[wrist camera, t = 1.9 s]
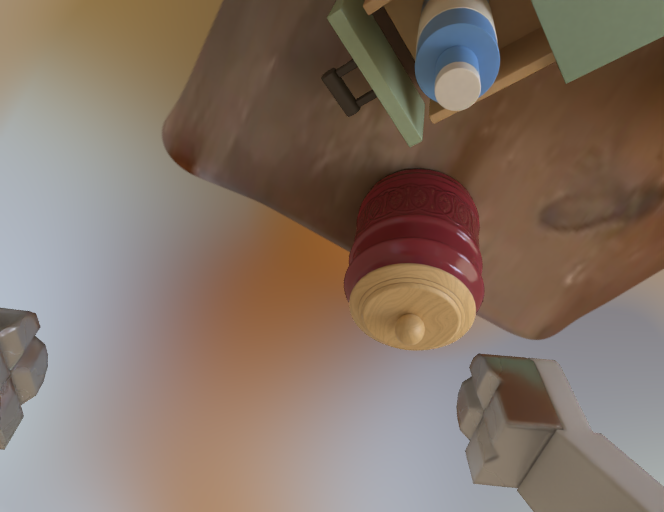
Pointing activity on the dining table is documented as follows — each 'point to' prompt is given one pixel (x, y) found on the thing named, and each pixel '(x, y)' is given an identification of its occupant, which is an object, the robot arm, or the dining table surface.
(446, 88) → the bottle
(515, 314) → the dining table surface
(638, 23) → the cabinet
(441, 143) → the dining table surface
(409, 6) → the drawer
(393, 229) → the kitchen canister
